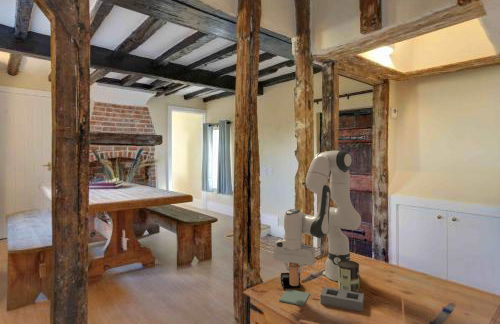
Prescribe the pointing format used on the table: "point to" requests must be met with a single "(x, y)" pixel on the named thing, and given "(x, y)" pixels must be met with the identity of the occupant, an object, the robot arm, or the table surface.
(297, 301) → the mat
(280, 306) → the table surface
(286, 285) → the end cap
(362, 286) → the table surface
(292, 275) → the plug
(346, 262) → the coffee can
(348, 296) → the grey holed block
